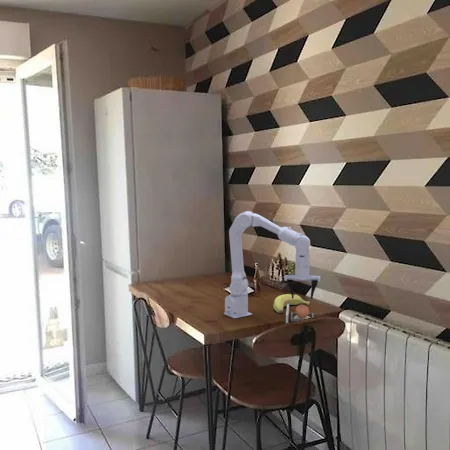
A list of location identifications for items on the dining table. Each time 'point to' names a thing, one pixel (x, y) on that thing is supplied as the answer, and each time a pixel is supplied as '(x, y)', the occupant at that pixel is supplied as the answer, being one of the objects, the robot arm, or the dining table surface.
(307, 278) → the robot arm
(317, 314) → the dining table surface
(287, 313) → the acrylic wall
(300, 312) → the ball
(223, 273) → the dining table surface
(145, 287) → the dining table surface
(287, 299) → the banana
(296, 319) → the grey square frame
